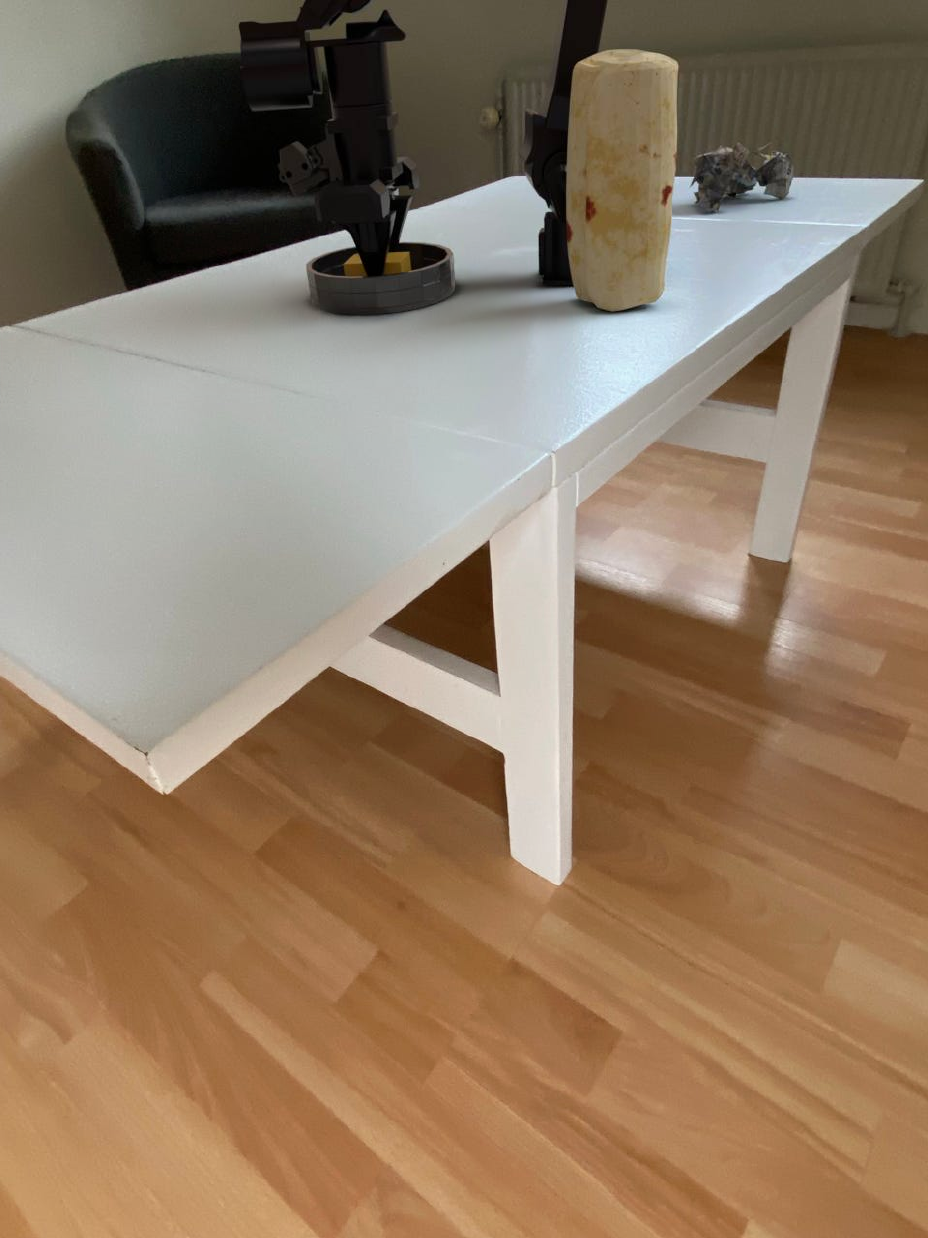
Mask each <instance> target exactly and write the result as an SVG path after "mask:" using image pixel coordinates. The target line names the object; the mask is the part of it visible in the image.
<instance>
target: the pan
mask: <svg viewBox="0 0 928 1238" xmlns="http://www.w3.org/2000/svg"><path fill="white" fill-rule="evenodd" d="M397 252H409V254H410V264H411V271H407V272H402V273H397V274H388V275H379V276H360V277H347V276H345V270H344V263H345V262H346V261H347V260H349V259H350V258H351V257H352V256H353V255H354V254H358V251H357V249H356V246H355V245H353V246H349V247H343V248H340V249H336V250H332V251H328V252H325V253H323V254H321V255H318V256H316V257H313V258H311V260H309V261H308V262H307V263H306V264H305V267H306V268H305V269H306V277H307V282H308V288H309V293H310V298H311V304H313V306H314V307H316V308H317V309H319V310H321V311H324V312H327V313H332V314H339V315H348V316H349V315H350V316H371V315H373V316H374V315H375V316H376V315H385V314H393V313H394V314H396V313H402V312H408V311H412V310H413V311H414V310H417V309H421V308H425V307H428V306H432V305H435V304H437V303H439V302H442V301H444V300H446V299H447V298H449V297H450V296H452V295H453V294H454V292H455V290H456V273H455V271H456V270H455V257H454V256H455V255H454V252H453V250H452V249H451V248H449V247H447V246H444V245H441V244H437V243H432V242H431V243H430V242H423V241H422V242H418V241H399V245H398V249H397Z"/></svg>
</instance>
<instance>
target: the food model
mask: <svg viewBox="0 0 928 1238" xmlns="http://www.w3.org/2000/svg"><path fill="white" fill-rule="evenodd" d="M679 70H680V66H679V64H678V61H677V60H675V59H674V58H672V57H670V56H668V55H665V54H662V53H659V52H652V51H646V50H641V49H635V48H633V49H631V48H622V49H621V48H619V49H607V50H604V51H600V52H598V53H597V54H594V55H592V56H590V57H588V58H586V59H584V60H582V61H580V62H578V63H577V64H576V65H575V67H574V70H573V76H572V87H571V99H570V113H569V128H568V148H567V183H566V220H567V244H568V257H569V263H570V270H571V275H572V280H573V284H572V285H573V288H574V292H575V295H576V298H577V299H578V300H580V301H585V302H589V303H593V304H594V305H595V306H596V308H597V309H601V310H604V311H608V312H611V313H614V312H619V311H624V310H628V309H632V308H635V307H638V306H642V305H646V304H652V303H655V302H657V301H658V300H659V299H660V298H661V296H662V295H663V293H664V291H665V287H666V268H667V259H668V253H669V246H670V239H671V230H672V218H673V217H672V215H673V213H672V212H673V197H674V187H675V177H676V170H677V169H676V167H677V152H678V151H677V148H678V147H677V146H678V115H677V114H678V112H677V109H678V106H677V105H678V103H677V102H678V101H677V100H678V82H679V72H680V71H679Z"/></svg>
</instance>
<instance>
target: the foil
mask: <svg viewBox="0 0 928 1238" xmlns="http://www.w3.org/2000/svg"><path fill="white" fill-rule="evenodd" d="M772 143H773V141H770V142H769V143H767V144H765V145H763V146H761V147H759V148H757V150H758V151H761V150H763V149H765V148H766V147H767V146H769V145H770V144H772ZM728 146H730V144H729V145H728V144H727V145H726V147H725V146H724V145H723V144H720V146H718V148H717V149H714V150H712V151H710V152H706V153H703V154H698V155H697V156H695V155H694V156H693V159H692V161H693V163H694V176H693V179H692V181H691V184H690V186H689V188H692V187H693V188H694V186H695V185H694V184H695V183H697V184H698V186H697V189H698V191H693V194H694V196H695V199H696V201H695V202H694V204H696V205H698V206H699V208H704V209H707V210H709V211H708V214H711V213H712V214H713V213H715V212H719V209H720V207H721V205H722V202H723V201H724V199H725V196H727V197H728V198H730V199H733V200H735V199H736V198H737V195H743V194H744V195H745V194H746V193H747V192H750V191H753V190H754V187H756V185H757V183H758V186H759V187H765V189H764V191H763V195H766V196H772V197H774V198H777V199H779V200H785V198H787V196H788V195H789V194H790V188H791V185H792V183H793V180H794V176H795V168H794V165H793V163H792V160H791V158H790V156H789V154H788V152H786V151H783V152H780V151H775V150H772V151H771V155H770V154H765V153H760V152H753V151H749V149H747V148H746V147H744V145H743V144H741V142H739V141H737V142H736V143H735V144H734V146H733V148H731V147H728ZM749 154H754V155H757V156H759V157H762V158H765V160H763V165H762V166H760V167H759V168H756V167H754V166H752V165H751V164H750V162H749V161H748V159H747V158H748V156H749ZM788 159H789V160H788Z"/></svg>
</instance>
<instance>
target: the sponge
mask: <svg viewBox="0 0 928 1238" xmlns="http://www.w3.org/2000/svg"><path fill="white" fill-rule="evenodd" d="M344 270H345V276H347V277H360V276H367V274H366V272H365V269H364V267H363V264H362V261H361V259H360V256H359V254H354V255H353V256H352V257H351V258H350V259H349V260H347V261H346V262H345V263H344ZM407 271H411V264H410V254H409V252H389V253H388V255H387V260H386V265H385V270H384V275H388V274H397V273H402V272H407Z"/></svg>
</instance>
